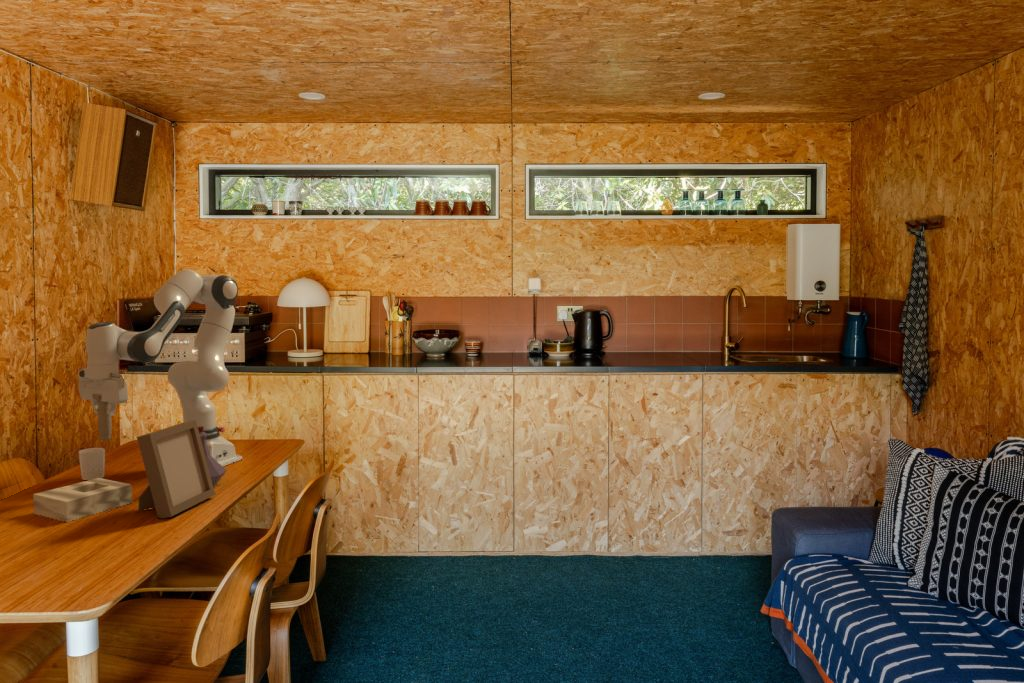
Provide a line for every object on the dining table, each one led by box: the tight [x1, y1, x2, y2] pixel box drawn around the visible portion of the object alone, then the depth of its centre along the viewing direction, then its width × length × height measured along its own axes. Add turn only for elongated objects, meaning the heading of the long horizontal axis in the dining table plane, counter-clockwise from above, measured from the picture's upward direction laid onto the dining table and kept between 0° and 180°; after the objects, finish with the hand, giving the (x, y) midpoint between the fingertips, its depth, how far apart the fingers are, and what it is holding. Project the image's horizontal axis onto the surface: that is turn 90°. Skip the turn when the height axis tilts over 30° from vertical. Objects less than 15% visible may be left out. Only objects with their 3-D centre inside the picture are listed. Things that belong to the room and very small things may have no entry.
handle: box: [92, 394, 113, 441], centre depth 235 cm, size 5×6×15 cm
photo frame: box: [136, 420, 216, 519], centre depth 220 cm, size 15×22×25 cm
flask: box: [198, 426, 228, 487], centre depth 244 cm, size 16×16×20 cm
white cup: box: [78, 447, 106, 481], centre depth 252 cm, size 8×8×10 cm
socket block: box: [32, 478, 133, 523], centre depth 219 cm, size 20×16×6 cm
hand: (104, 414), depth 235 cm, fingers closed on handle, 5 cm apart
